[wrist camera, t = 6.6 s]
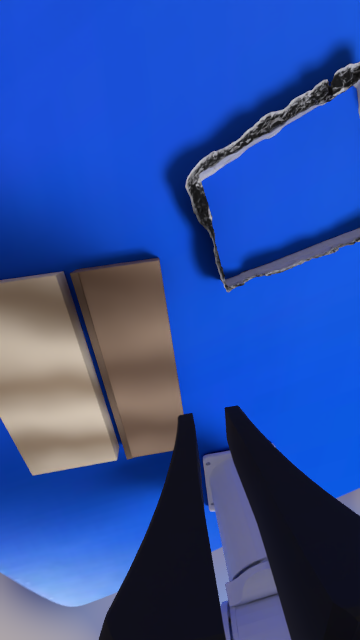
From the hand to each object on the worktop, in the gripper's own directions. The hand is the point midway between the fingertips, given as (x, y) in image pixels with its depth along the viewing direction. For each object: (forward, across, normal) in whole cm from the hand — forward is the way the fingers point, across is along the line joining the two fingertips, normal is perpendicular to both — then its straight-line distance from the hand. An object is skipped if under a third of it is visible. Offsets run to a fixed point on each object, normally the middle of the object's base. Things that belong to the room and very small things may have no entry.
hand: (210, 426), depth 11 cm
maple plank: (+9, +12, +2) cm, 16 cm away
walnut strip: (+9, +4, +2) cm, 11 cm away
